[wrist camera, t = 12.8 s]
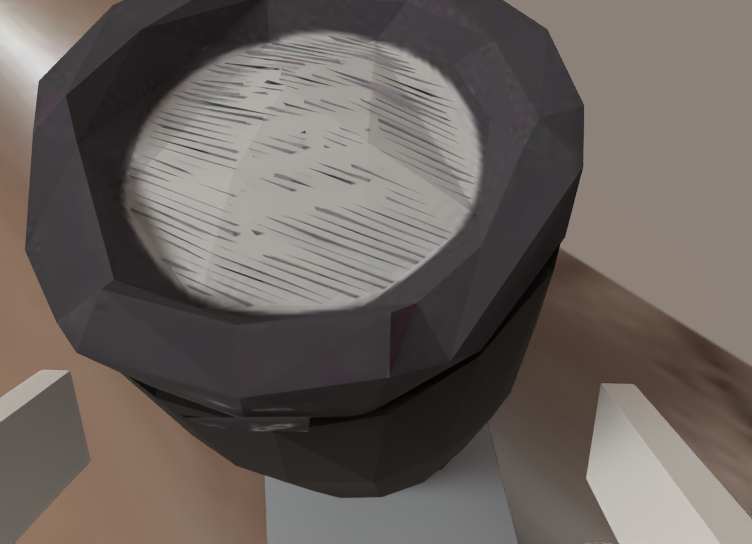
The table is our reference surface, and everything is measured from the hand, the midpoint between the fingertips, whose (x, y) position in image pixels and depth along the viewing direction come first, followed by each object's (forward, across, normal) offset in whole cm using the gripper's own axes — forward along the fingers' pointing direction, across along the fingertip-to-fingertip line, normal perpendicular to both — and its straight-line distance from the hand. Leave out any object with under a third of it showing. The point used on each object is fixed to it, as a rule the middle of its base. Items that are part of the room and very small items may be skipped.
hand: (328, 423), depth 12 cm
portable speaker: (+10, 0, -7) cm, 12 cm away
